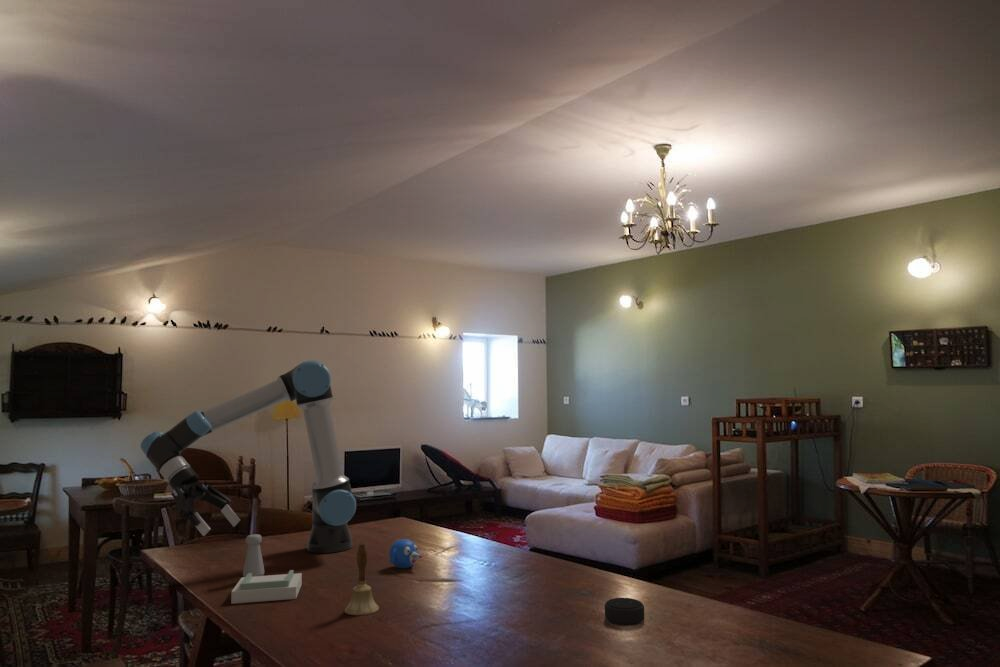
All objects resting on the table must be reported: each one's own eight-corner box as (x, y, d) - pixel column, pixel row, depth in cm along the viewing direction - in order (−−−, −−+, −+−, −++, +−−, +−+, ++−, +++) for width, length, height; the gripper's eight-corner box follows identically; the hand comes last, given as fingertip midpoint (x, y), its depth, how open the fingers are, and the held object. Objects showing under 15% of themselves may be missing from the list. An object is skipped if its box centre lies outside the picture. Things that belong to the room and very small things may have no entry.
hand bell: (385, 606, 169) (384, 540, 170) (368, 617, 161) (367, 548, 162) (355, 603, 171) (355, 539, 173) (337, 614, 164) (337, 546, 165)
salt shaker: (246, 578, 197) (246, 533, 199) (266, 578, 198) (266, 532, 199) (240, 584, 192) (240, 537, 193) (261, 583, 192) (261, 536, 193)
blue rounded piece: (407, 575, 196) (407, 546, 197) (379, 570, 204) (379, 541, 204) (436, 566, 206) (435, 538, 207) (408, 561, 213) (407, 534, 214)
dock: (301, 584, 191) (301, 567, 191) (296, 598, 177) (296, 581, 177) (241, 588, 188) (241, 571, 188) (231, 603, 174) (231, 585, 174)
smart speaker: (652, 624, 152) (651, 606, 152) (615, 629, 149) (615, 610, 149) (633, 612, 160) (632, 595, 160) (598, 616, 157) (598, 599, 158)
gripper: (200, 478, 216) (241, 528, 211) (140, 490, 192) (184, 546, 187) (214, 461, 215) (256, 511, 210) (156, 471, 191) (201, 527, 186)
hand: (222, 527), depth 199 cm, fingers open, 13 cm apart
